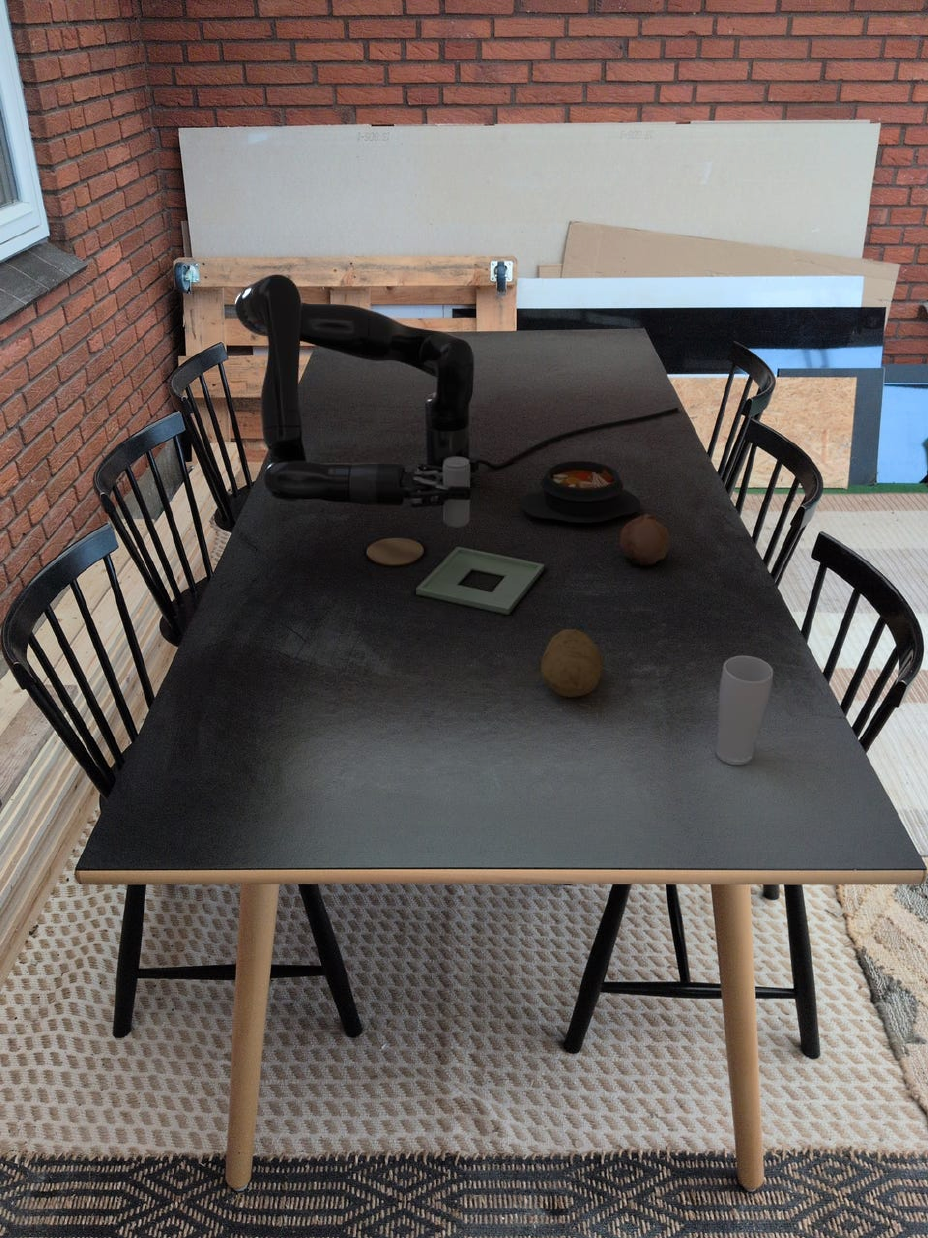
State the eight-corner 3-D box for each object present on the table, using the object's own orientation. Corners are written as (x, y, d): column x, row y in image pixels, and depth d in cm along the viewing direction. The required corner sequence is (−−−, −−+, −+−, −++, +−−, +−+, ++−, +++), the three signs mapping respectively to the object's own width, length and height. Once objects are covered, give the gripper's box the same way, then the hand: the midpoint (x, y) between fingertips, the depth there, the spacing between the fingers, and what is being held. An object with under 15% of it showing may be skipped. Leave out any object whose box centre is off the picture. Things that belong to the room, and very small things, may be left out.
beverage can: (466, 529, 186) (467, 467, 180) (440, 527, 187) (440, 465, 181) (471, 518, 190) (472, 457, 184) (446, 515, 191) (446, 455, 185)
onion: (637, 565, 203) (643, 514, 202) (677, 569, 196) (682, 516, 195) (606, 563, 196) (612, 510, 195) (646, 567, 189) (652, 512, 189)
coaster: (383, 535, 207) (383, 533, 207) (433, 545, 204) (433, 543, 203) (356, 558, 199) (356, 557, 199) (407, 570, 195) (407, 568, 195)
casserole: (627, 490, 226) (631, 454, 221) (649, 528, 210) (653, 490, 206) (514, 495, 224) (515, 459, 219) (528, 534, 208) (529, 495, 203)
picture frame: (457, 551, 201) (457, 546, 201) (544, 569, 195) (544, 564, 194) (416, 594, 187) (416, 588, 187) (508, 614, 181) (508, 609, 180)
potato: (597, 661, 168) (601, 619, 164) (605, 712, 156) (609, 669, 152) (537, 660, 169) (539, 618, 165) (540, 711, 157) (542, 668, 153)
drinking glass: (703, 742, 150) (716, 655, 142) (749, 739, 151) (764, 653, 143) (717, 772, 145) (731, 684, 137) (764, 769, 145) (781, 681, 137)
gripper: (370, 480, 178) (469, 484, 177) (381, 449, 190) (474, 451, 189) (372, 520, 182) (469, 523, 181) (383, 486, 194) (473, 489, 193)
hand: (471, 486), depth 185 cm, fingers closed on beverage can, 5 cm apart
